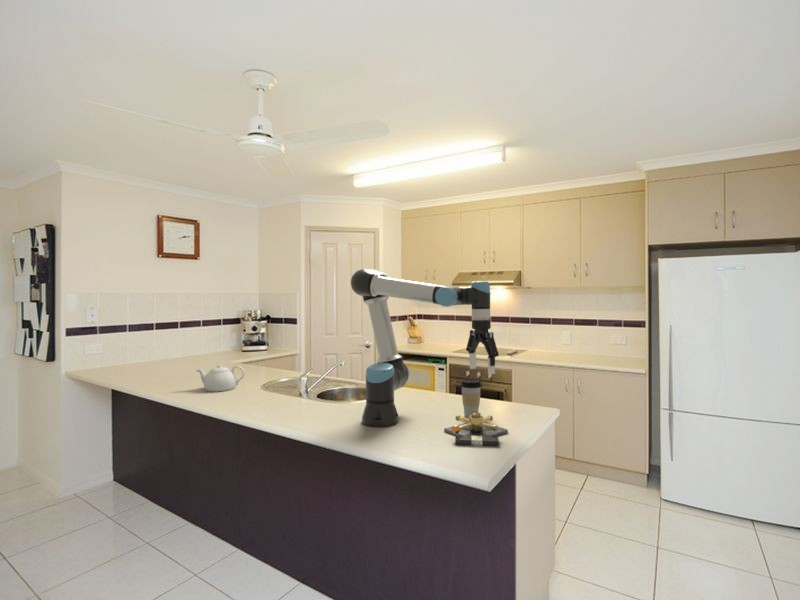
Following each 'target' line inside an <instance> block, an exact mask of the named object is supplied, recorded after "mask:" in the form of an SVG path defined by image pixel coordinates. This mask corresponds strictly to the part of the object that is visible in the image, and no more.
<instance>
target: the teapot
mask: <svg viewBox="0 0 800 600" xmlns="http://www.w3.org/2000/svg"><path fill="white" fill-rule="evenodd" d="M236 368H239V369H240V371H241V372H242V375H241V377H240V378H239V379H238V378H237V376H236V374H235V372H234V370H235V369H236ZM196 372H198V373H199V374H200V379H201V382H202V383H203V388H204V390H205V391H206V392H209V391H211V392H210V393H218V391H221V392H226V391H227V392H228V391H231V390H234V389H235V388H236V387H237V386H238V385H239V382H241V380H242V379H243V378H244V377H245V369H244V368H243V367H242V366H240V365H234V366H233V367H232V369H231V368H228V367H225V366H222V364H217V365H216V367H213V368H211V369H210V370H209V371H208V372H207V373H205V371H204V370H203V369H202V368H198V369H196ZM237 379H238V380H237Z"/></svg>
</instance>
